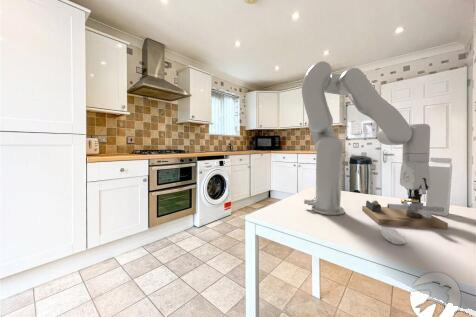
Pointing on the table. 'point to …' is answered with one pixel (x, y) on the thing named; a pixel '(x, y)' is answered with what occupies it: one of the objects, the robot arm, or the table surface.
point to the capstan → (415, 208)
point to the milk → (439, 184)
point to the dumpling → (393, 236)
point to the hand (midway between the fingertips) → (414, 206)
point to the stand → (399, 217)
